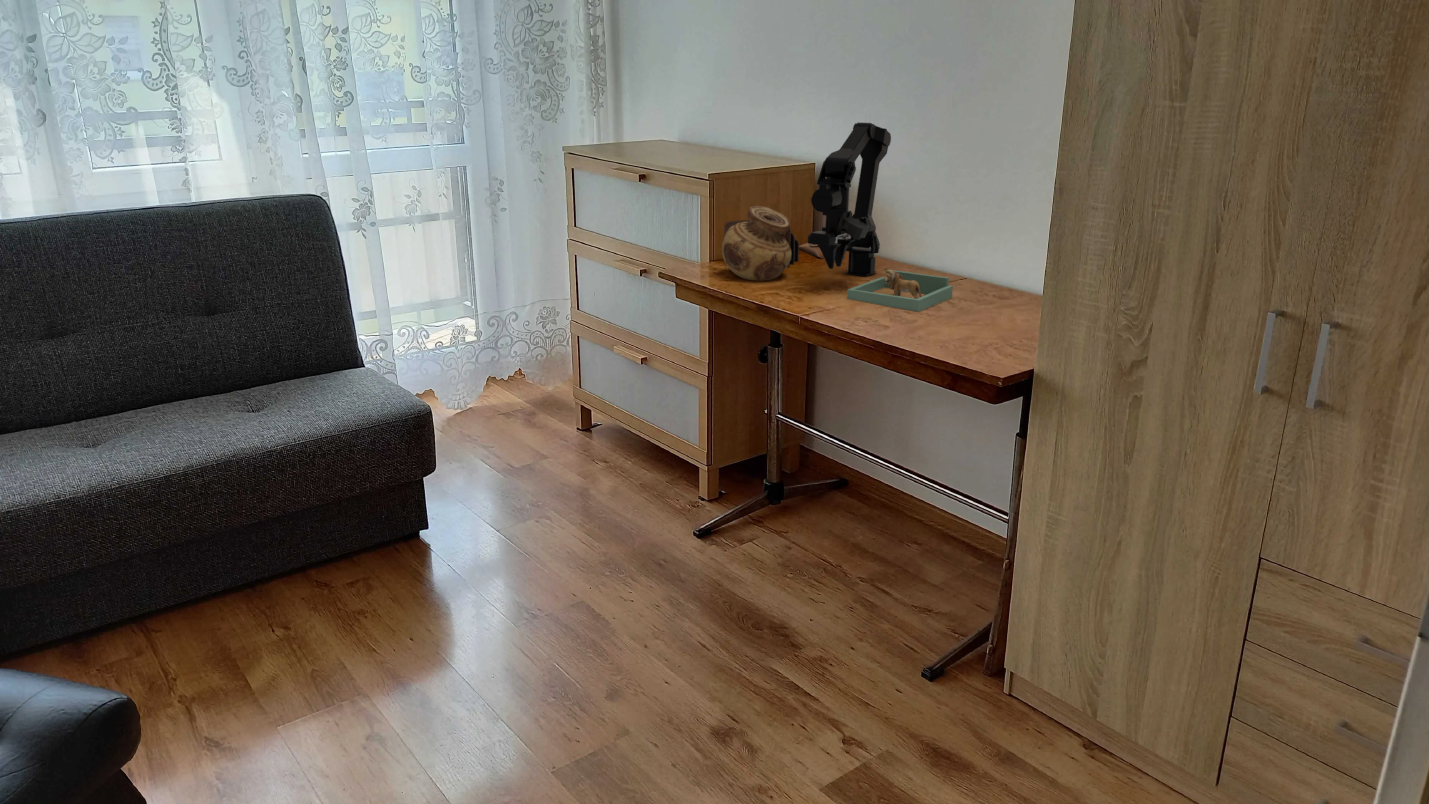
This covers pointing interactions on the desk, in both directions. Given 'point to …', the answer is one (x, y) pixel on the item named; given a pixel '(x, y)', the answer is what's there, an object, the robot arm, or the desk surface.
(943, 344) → the desk surface
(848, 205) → the robot arm
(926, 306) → the cold frame
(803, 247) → the sunglasses case
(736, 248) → the clay pot
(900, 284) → the lion figurine
